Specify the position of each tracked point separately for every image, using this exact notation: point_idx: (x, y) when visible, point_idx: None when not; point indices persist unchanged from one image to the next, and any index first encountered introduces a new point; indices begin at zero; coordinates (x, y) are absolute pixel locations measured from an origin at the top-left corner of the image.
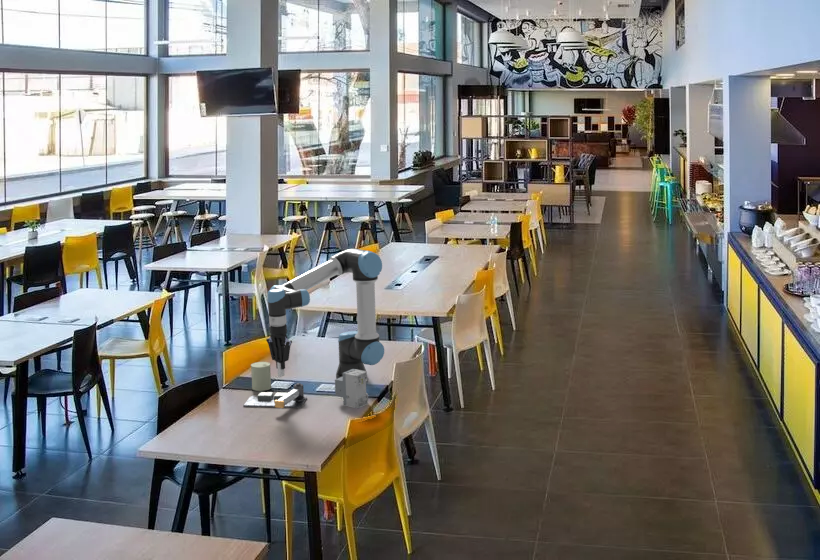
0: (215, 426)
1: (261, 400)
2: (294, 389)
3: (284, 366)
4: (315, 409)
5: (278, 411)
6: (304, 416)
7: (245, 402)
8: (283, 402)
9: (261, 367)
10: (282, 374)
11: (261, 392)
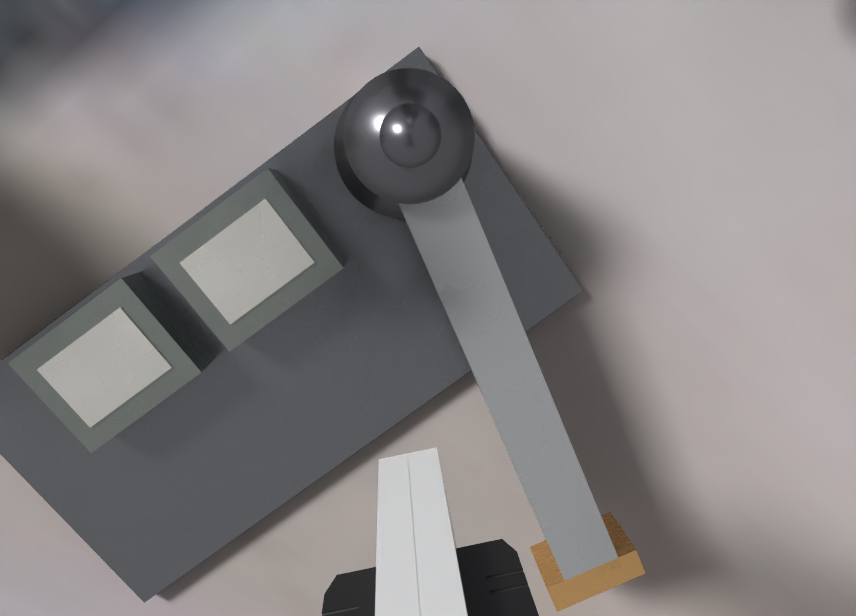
0: None
1: (158, 424)
2: (431, 227)
3: (527, 592)
4: (713, 222)
5: (488, 468)
6: (756, 404)
7: (97, 553)
8: (636, 556)
9: None
10: (449, 512)
11: (30, 365)
